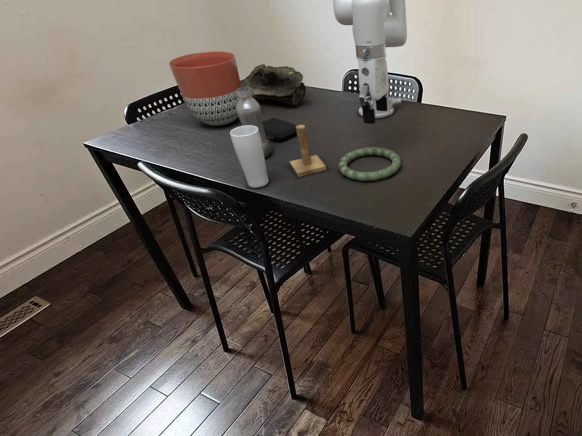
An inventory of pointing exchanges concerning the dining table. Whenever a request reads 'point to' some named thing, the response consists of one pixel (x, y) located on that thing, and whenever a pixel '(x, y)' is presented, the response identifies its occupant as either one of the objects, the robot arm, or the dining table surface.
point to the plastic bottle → (251, 114)
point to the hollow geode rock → (276, 84)
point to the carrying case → (279, 129)
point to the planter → (208, 85)
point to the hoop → (369, 175)
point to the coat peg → (306, 156)
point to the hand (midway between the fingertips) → (376, 116)
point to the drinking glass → (250, 154)
